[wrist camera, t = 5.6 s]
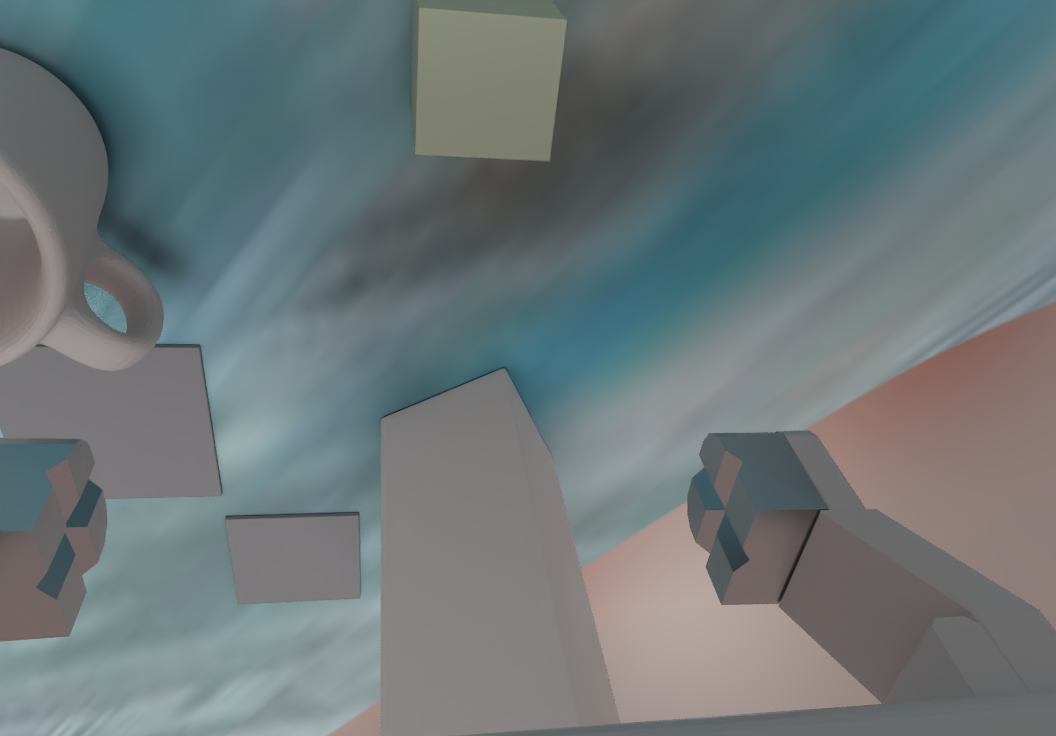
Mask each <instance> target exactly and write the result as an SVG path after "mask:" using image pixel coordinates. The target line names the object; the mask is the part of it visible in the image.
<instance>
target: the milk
mask: <svg viewBox="0 0 1056 736" xmlns="http://www.w3.org/2000/svg"><path fill="white" fill-rule="evenodd" d="M619 723H620V719H619V715H618V711H617V707H616V704H615V699H614V696H613V692H612V688H611V684H610V680H609V676H608V672H607V668H606V665H605V661H604V657H603V653H602V649H601V645H600V641H599V637H598V633H597V629H596V625H595V622H594V618H593V614H592V610H591V606H590V602H589V598H588V594H587V591H586V587H585V583H584V579H583V575H582V571H581V567H580V563H579V559H578V555H577V551H576V548H575V544H574V540H573V536H572V532H571V528H570V524H569V520H568V516H567V513H566V509H565V505H564V501H563V497H562V493H561V489H560V485H559V481H558V477H557V474H556V470H555V466H554V462H553V458H552V456H551V454H550V452H549V450H548V448H547V447H546V445H545V443H544V441H543V439H542V437H541V435H540V433H539V431H538V430H537V428H536V426H535V424H534V422H533V420H532V418H531V416H530V414H529V413H528V411H527V409H526V407H525V405H524V403H523V401H522V399H521V397H520V395H519V394H518V392H517V390H516V388H515V386H514V384H513V382H512V380H511V378H510V377H509V375H508V373H507V371H506V369H505V368H502V369H500V370H497V371H495V372H492V373H490V374H488V375H485V376H483V377H480V378H478V379H475V380H473V381H471V382H468V383H466V384H463V385H461V386H459V387H456V388H454V389H451V390H449V391H447V392H444V393H442V394H439V395H437V396H434V397H432V398H430V399H427V400H425V401H422V402H420V403H418V404H415V405H413V406H410V407H408V408H405V409H403V410H401V411H398V412H396V413H393V414H391V415H389V416H386V417H384V418H382V420H381V736H456V735H470V734H484V733H497V732H511V731H525V730H538V729H552V728H565V727H579V726H592V725H605V724H619Z"/></svg>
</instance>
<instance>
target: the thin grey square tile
mask: <svg viewBox="0 0 1056 736" xmlns="http://www.w3.org/2000/svg"><path fill="white" fill-rule="evenodd" d="M0 428H1V430H2V433H3V436H4V438H52V439H82V440H84V441H86V442H88V443H89V445H90V449H91V452H92V455H93V458H94V461H95V465H94V467H93V469H92V472H91V474H90V476H89V480H91V481H92V482H93V483H95V484H96V485H97V486H99V487H100V488H101V489H102V490H103V494H104V498H105V499H125V498H163V497H202V496H222V487H221V481H220V474H219V468H218V461H217V455H216V448H215V442H214V435H213V428H212V422H211V415H210V409H209V402H208V396H207V389H206V383H205V376H204V370H203V363H202V356H201V350H200V345H155V346H154V347H153V348H152V349H151V350H150V351H149V352H148V353H147V354H146V355H145V356H144V357H143V358H142V359H141V360H140V361H139V362H137V363H136V364H134V365H132V366H130V367H128V368H126V369H122V370H116V371H105V370H100V369H96V368H93V367H90V366H87V365H84V364H82V363H80V362H78V361H75V360H73V359H71V358H69V357H68V356H66V355H64V354H62V353H60V352H58V351H57V350H55V349H53V348H51V347H49V346H46V345H43V344H37V345H36V346H35V347H34V348H33V349H31V350H30V351H29V352H27V353H26V354H24V355H23V356H21V357H20V358H18V359H16V360H14V361H12V362H10V363H7V364H5V365H3V366H0Z"/></svg>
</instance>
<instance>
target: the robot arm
mask: <svg viewBox="0 0 1056 736" xmlns="http://www.w3.org/2000/svg"><path fill="white" fill-rule="evenodd" d="M699 456H700V458H701V460H702V462H703V464H704V468H703V469H702V470H701V471H700V472H699V473H697V474H696V475H695V476H694V477H693V478H692V481H691V485H690V488H689V492H688V518H689V523H690V528H691V531H692V534H693V536H694V539H695V542H696V543H697V544H699V545H700V546H701V547H703V548H704V549H705V550H706V551H708V552H709V553H710V556H709V559H708V562H707V565H706V569H707V571H708V574H709V576H710V578H711V581H712V583H713V585H714V588H715V590H716V593H717V595H718V598H719V600H720V603H721V604H722V605H738V604H739V605H740V604H779V607H780V608H781V609H782V610H783V611H784V612H785V613H786V614H787V615H788V616H789V617H790V618H792V620H794V621H795V622H796V623H797V624H798V625H799V626H800V627H801V628H802V629H803V630H804V631H805V632H806V633H807V634H809V635H810V636H811V637H812V638H813V639H814V640H815V641H816V642H817V643H818V644H819V645H820V646H821V647H822V648H823V649H825V650H826V651H827V652H828V653H829V654H830V655H831V656H832V657H833V658H834V659H835V660H836V661H837V662H838V663H840V664H841V665H842V666H843V667H844V668H845V669H846V670H847V671H848V672H849V673H850V674H851V675H852V676H853V677H854V678H856V679H857V680H858V681H859V682H860V683H861V684H862V685H863V686H864V687H865V688H866V689H867V690H868V691H869V692H871V693H872V694H873V695H874V696H875V697H876V698H877V699H878V700H879V701H880V702H881V703H882V704H876V705H863V706H849V707H835V708H822V709H809V710H796V711H795V710H794V711H781V712H768V713H754V714H740V715H726V716H715V717H714V716H713V717H700V718H686V719H673V720H659V721H647V722H634V723H619V724H605V725H592V726H579V727H565V728H552V729H538V730H525V731H511V732H497V733H484V734H470V735H456V736H1056V631H1055V629H1054V628H1053V627H1052V625H1051V624H1050V623H1049V622H1048V621H1047V619H1046V618H1045V617H1044V615H1043V614H1042V613H1041V611H1040V610H1038V609H1037V608H1035V607H1034V606H1032V605H1030V604H1029V603H1027V602H1025V601H1024V600H1022V599H1020V598H1019V597H1017V596H1015V595H1014V594H1013V593H1011V592H1009V591H1008V590H1006V589H1005V588H1003V587H1001V586H1000V585H998V584H996V583H995V582H993V581H992V580H990V579H988V578H987V577H985V576H983V575H982V574H980V573H979V572H977V571H975V570H973V569H972V568H971V567H969V566H967V565H966V564H964V563H962V562H961V561H959V560H957V559H956V558H954V557H952V556H951V555H950V554H948V553H946V552H945V551H943V550H941V549H940V548H938V547H937V546H935V545H933V544H932V543H930V542H929V541H927V540H925V539H923V538H922V537H920V536H919V535H917V534H915V533H914V532H912V531H911V530H909V529H907V528H906V527H904V526H902V525H901V524H899V523H898V522H896V521H894V520H893V519H891V518H890V517H888V516H886V515H885V514H883V513H882V512H880V511H878V510H877V509H871V510H870V509H866V508H865V506H864V505H863V504H862V502H861V500H860V499H859V498H858V496H857V495H856V493H855V492H854V490H853V489H852V487H851V486H850V484H849V483H848V481H847V480H846V478H845V477H844V475H843V474H842V472H841V471H840V469H839V468H838V466H837V465H836V463H835V462H834V460H833V459H832V457H831V456H830V454H829V453H828V451H827V450H826V448H825V447H824V445H823V444H822V442H821V441H820V439H819V438H818V436H817V435H815V434H814V433H812V432H811V431H776V432H775V433H773V432H760V433H709V434H708V436H707V437H706V438H705V440H704V441H703V444H702V447H701V451H700V454H699ZM94 465H95V461H94V458H93V455H92V452H91V449H90V445H89V443H88V442H86V441H84V440H82V439H52V438H0V641H12V640H26V639H40V638H53V637H67V636H70V633H71V631H72V628H73V625H74V623H75V620H76V618H77V615H78V613H79V610H80V607H81V605H82V602H83V600H84V597H85V595H86V592H87V591H86V587H85V584H84V581H83V578H82V574H84V573H85V572H86V571H88V570H89V569H90V568H91V567H93V566H94V565H95V564H97V563H98V560H99V558H100V555H101V552H102V549H103V546H104V543H105V535H106V528H107V509H106V502H105V498H104V494H103V490H102V489H101V488H100V487H99V486H97V485H96V484H95V483H93V482H92V481H91V480H89V476H90V474H91V472H92V469H93V467H94Z"/></svg>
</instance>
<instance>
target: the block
mask: <svg viewBox="0 0 1056 736" xmlns="http://www.w3.org/2000/svg"><path fill="white" fill-rule="evenodd" d="M566 26H567V19H566V18H565V16H564V15H563V14H562V13H561V11H560V10H559V9H558V8H557V7H556V5H555V4H554V3H553V2H552V0H413V12H412V58H411V112H412V123H413V134H414V145H415V155H432V156H452V157H473V158H493V159H513V160H534V161H550V154H551V146H552V138H553V130H554V122H555V114H556V106H557V98H558V90H559V82H560V74H561V66H562V58H563V50H564V42H565V34H566Z"/></svg>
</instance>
